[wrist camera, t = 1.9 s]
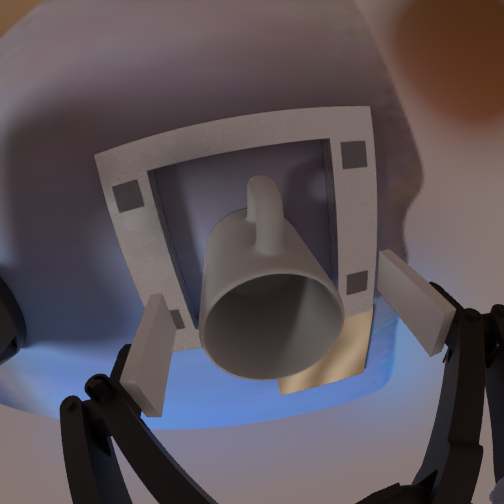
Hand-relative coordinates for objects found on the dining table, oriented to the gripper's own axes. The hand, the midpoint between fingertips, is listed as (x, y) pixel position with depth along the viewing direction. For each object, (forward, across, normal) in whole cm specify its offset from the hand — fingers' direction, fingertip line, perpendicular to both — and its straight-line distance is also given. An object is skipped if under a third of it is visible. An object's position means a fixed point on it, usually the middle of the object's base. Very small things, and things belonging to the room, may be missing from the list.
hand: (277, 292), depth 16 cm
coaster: (+9, +5, -17) cm, 20 cm away
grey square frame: (+9, -1, 0) cm, 9 cm away
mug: (+9, -1, 0) cm, 9 cm away
